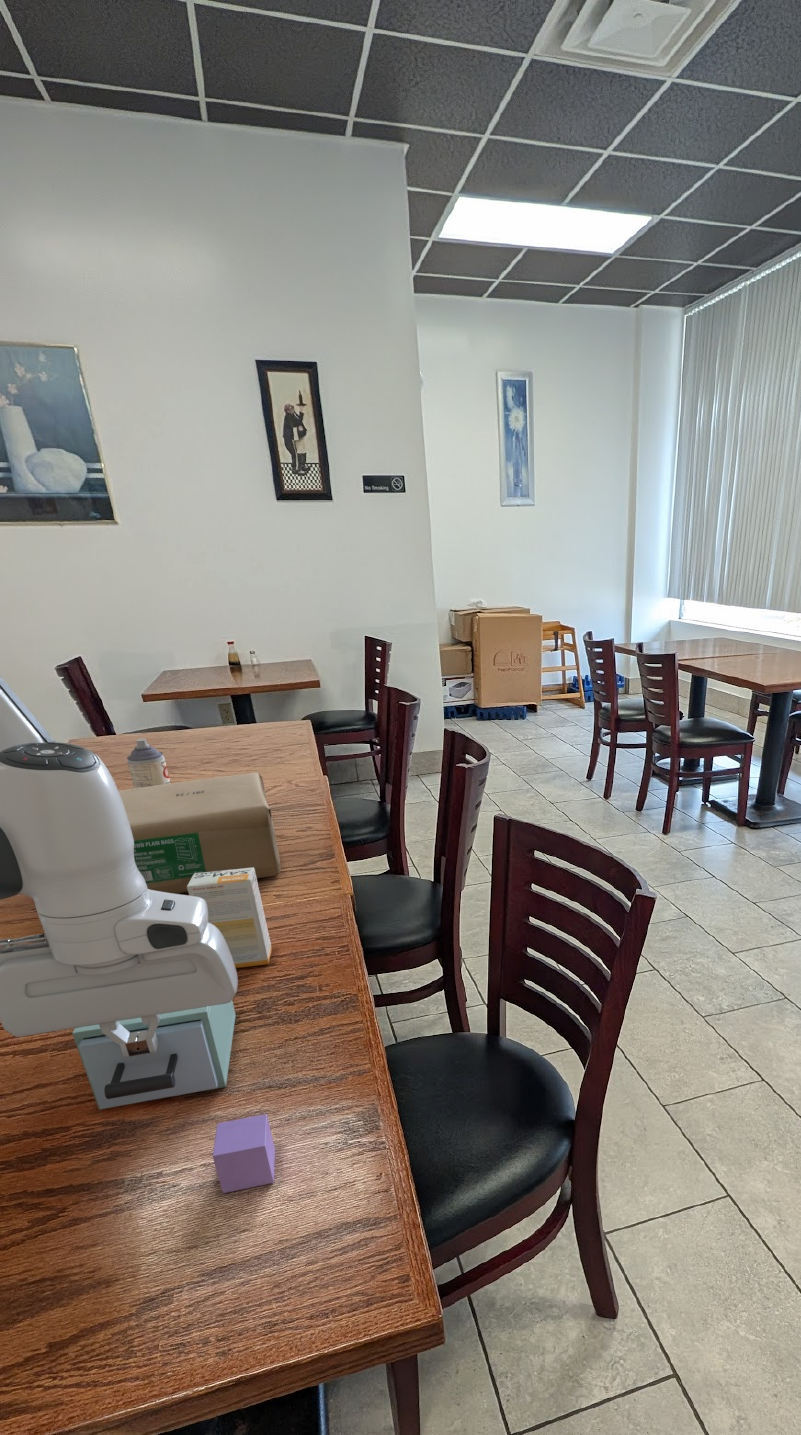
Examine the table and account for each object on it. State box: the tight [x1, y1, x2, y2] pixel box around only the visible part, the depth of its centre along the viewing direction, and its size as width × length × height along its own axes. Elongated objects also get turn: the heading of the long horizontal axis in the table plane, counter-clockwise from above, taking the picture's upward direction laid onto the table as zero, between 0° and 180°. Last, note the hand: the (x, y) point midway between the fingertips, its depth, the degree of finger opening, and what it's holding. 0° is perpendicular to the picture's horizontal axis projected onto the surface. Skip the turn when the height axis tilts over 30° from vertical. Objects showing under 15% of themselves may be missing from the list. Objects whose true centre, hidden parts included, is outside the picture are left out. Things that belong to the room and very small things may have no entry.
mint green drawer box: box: [71, 999, 237, 1111], centre depth 84 cm, size 15×13×10 cm
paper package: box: [118, 771, 282, 894], centre depth 136 cm, size 27×26×14 cm
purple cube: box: [212, 1113, 276, 1194], centre depth 69 cm, size 4×4×4 cm
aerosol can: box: [126, 738, 171, 789], centre depth 152 cm, size 7×7×20 cm
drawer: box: [79, 1019, 218, 1110], centre depth 80 cm, size 18×11×8 cm, turn 15°
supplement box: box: [187, 868, 273, 969], centre depth 104 cm, size 8×5×13 cm, turn 100°
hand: (142, 1051), depth 74 cm, fingers closed
